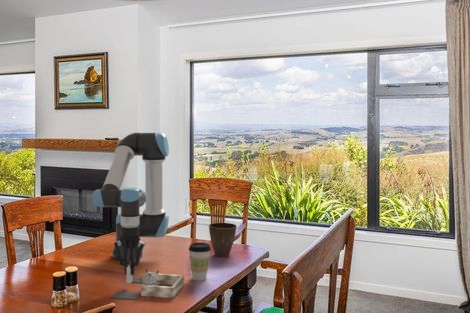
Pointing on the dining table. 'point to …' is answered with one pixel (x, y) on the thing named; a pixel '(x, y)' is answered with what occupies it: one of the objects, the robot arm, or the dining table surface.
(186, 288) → the dining table surface
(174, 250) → the dining table surface
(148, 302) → the dining table surface
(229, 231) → the plant pot
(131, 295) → the mats
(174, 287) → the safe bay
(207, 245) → the coffee cup
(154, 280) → the game die
